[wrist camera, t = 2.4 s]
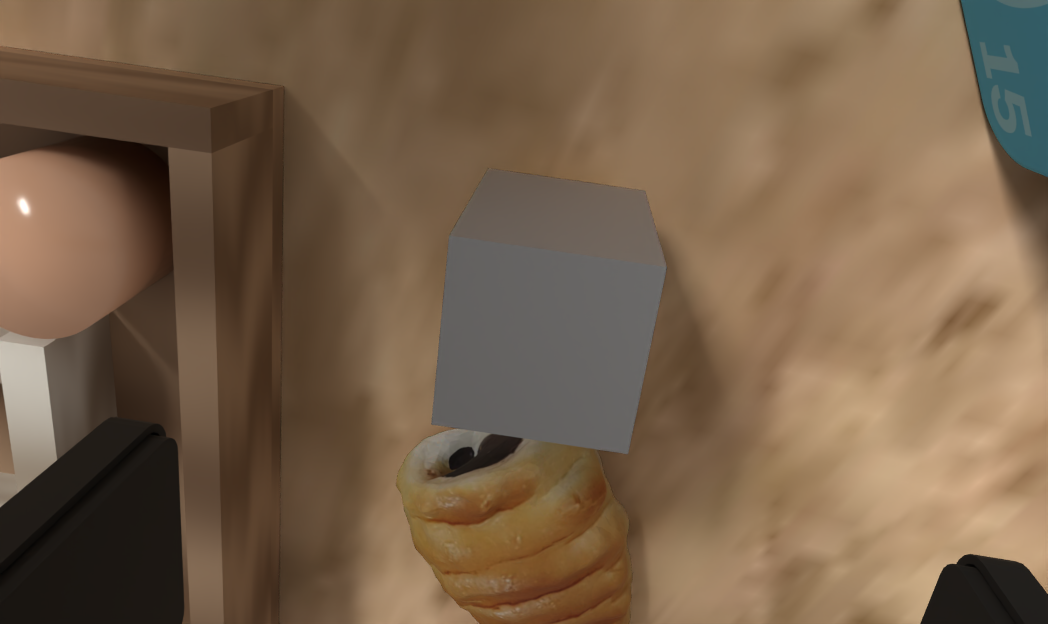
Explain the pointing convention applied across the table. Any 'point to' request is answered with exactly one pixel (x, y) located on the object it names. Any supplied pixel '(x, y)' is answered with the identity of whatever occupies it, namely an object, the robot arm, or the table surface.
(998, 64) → the data package
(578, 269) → the gray block
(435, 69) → the table surface
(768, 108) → the table surface
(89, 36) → the table surface
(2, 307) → the ball
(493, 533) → the pastry
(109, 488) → the robot arm
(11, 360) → the crate
